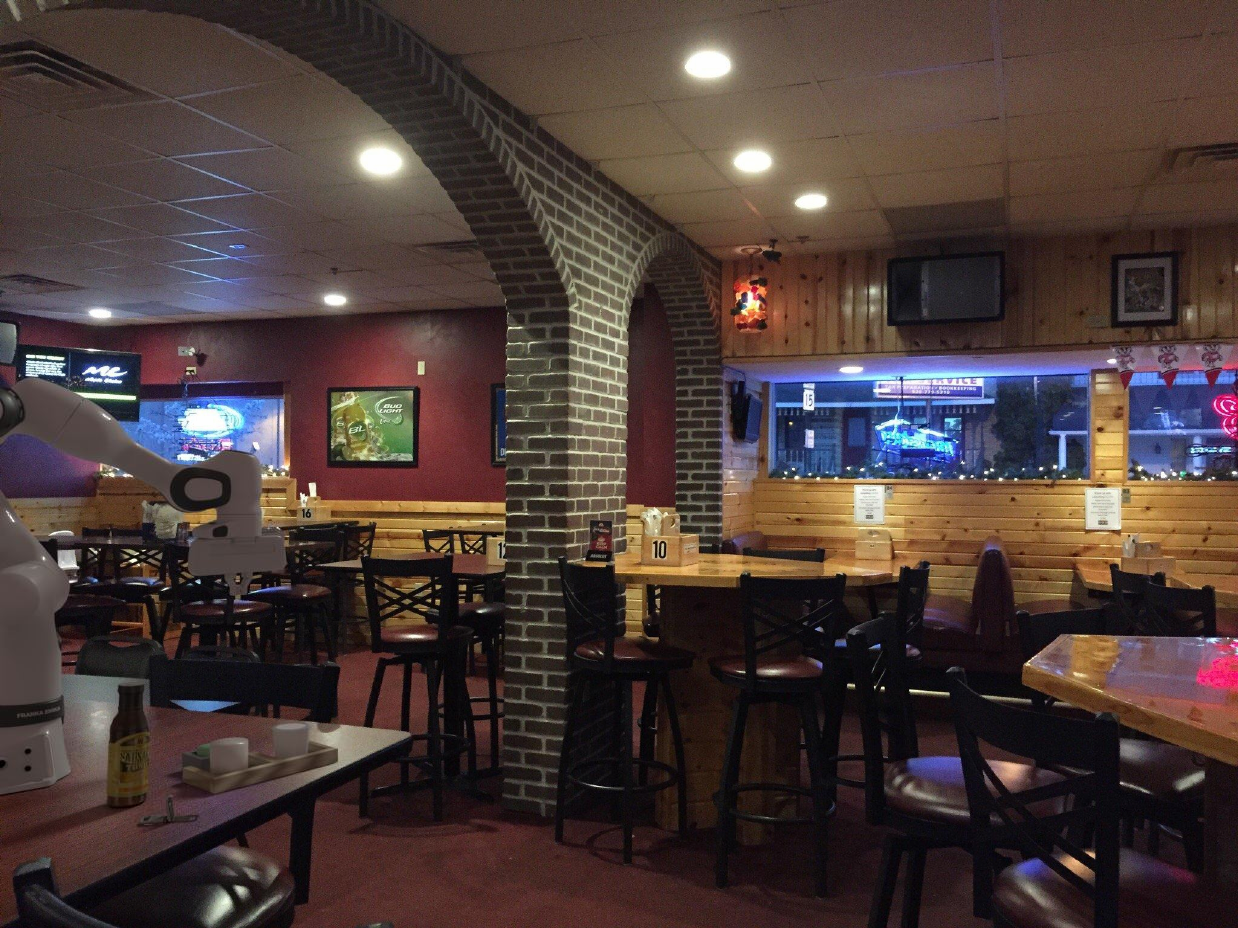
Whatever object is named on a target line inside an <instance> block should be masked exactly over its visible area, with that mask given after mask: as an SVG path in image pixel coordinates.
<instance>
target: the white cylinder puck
mask: <svg viewBox="0 0 1238 928" xmlns="http://www.w3.org/2000/svg"><path fill="white" fill-rule="evenodd" d="M209 743H210V773H212V774H215V775H218V776H219V775H223V774H227V773H231V772H235V771H239V770H243V769H247V768H248V752H249V739H248V738H245V737H236V736H235V737H226V738H225V737H224V738H220V739H215V740H212V741H211V742H209Z"/></svg>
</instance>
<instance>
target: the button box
mask: <svg viewBox="0 0 1238 928" xmlns="http://www.w3.org/2000/svg"><path fill="white" fill-rule="evenodd" d="M181 762H182V763H181V765H182V767H181V770H182V771H183V768H184V767H188V766H193V767H195V768H198V769H201V770H204V771H207V772H209V773H210V756H208V757H201V756H198V755H197V749H195V750H190V751H184V752H182V753H181Z"/></svg>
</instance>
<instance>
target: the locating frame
mask: <svg viewBox="0 0 1238 928" xmlns="http://www.w3.org/2000/svg"><path fill="white" fill-rule="evenodd" d="M338 762H339V748H338V747H333V746H331V745H327V744H323V743H320V742H316V741H312V740H309V742H308V752H307V754H304V755H300V756H296V757H292V758H288V759H284V760H281V759H278V758H275V756H271V755H268V754H265V753H262V752H258V751H256V750H254V751H248V768H247V769H243V770H239V771H235V772H231V773H227V774H223V775H219V776H218V775H215V774H212V773H209V772H207V771H204V770H201V769H198V768H195V767H193V766H188V767H184V768H183V770H182V783H185V784H187V785H190V786H193V787H195V788H198V789H201V790H203V791H206V792H209V793H212V794H215V795H216V794H219V793H223V792H227V791H231V790H235V789H239V788H242V787H246V786H251V785H255V784H258V783H261V782H262V783H263V782H266V781H269V780H274V779H277V778H280V777H284V776H288V775H293V774H296V773H297V774H298V773H300V772H304V771H307V770H311V769H316V768H318V767H319V768H320V767H322V766H323V767H324V766H326V765H330V764H334V763H338Z"/></svg>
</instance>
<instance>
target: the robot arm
mask: <svg viewBox="0 0 1238 928" xmlns="http://www.w3.org/2000/svg"><path fill="white" fill-rule="evenodd" d="M17 434H18V435H19V434H21V435H26V436H30V437H33V438H36V439H37V440H39V441H41V442H43V443H45V444H47V445H48V446H50V447H52V448H54V449H56V450H58V451H60V452H62V453H64V454H67V455H69V456H72V457H76V458H78V459H81V460H84V461H87V462H91V463H97V464H102V465H106V466H109V467H112V468H115V469H118V470H119V471H120V470H121V471H122V472H124V473H125V474H126V473H127V474H128V475H130V476H131V477H133V478H136V479H137V480H139V481H141V482H143V483H144V484H147V485H148V486H150V487H152V488H153V489H155V490H156V491H157V492H158V493H159V494H160V495H161V497H162V498H163V499H164V500H165V502H166V504H168V505H169V506H170V507H171V508H172V509H174V510H176V511H178V512H179V513H185V514H193V513H194V514H195V513H196V514H198V513H202V512H205V511H207V510H211V509H215V510H216V518H215V519H213V520H211V521H209V522H206V523H204V524H200V525H197V526H195V527H193V528H192V534H191V535H192V537H193V538H194V539H193V540H192V541H191V543H190V545H189V549H188V556H187V557H188V558H187V570H188V572H189V573H190V575H192V576H197V577H202V576H217V575H224V580H225V582H226V583H227V585H228V587H229V595H230V596H242V595H243V596H245V595H247V594H248V586H249V585H250V583H251V581H252V579H253V578H254V576H253V574H254V573H256V572H258V573H259V572H272V571H282V570H284V568H285V567H286V566H287V556H286V555H287V554H286V546H285V541H286V540H285V538H286V536H285V532H284V531H283V529H281V528H279V527H278V526H272V527H267V526H263V524H262V523H263V521H262V520H263V512H262V511H263V510H262V507H261V498H262V495H263V473H262V466H261V462H260V460H259V458H258V457H257V456H256V455H254V454H253V453H251V452H247V451H242V450H237V449H230V448H227V449H222V450H221V451H220V452H218V453H217V454H215V455H213V456H212V457H209V458H207V459H205V460H201V461H200V462H197V463H194V464H191V465H190V464H180V463H175V462H172V461H170V460H168V459H166V458H164V457H163V456H161V455H160V454H157V453H156V452H154V451H152V450H150V449H148V448H147V447H144V446H143V445H141V444H140V443H138V442H137V441H135V440H134V439H133V438H131V436H129V434H128V433H126V431H125V430H124V428H123V427H122V426H121V424H120V422H118V420H117V419H116V418H115V417H114V416H113V415H111V414H110V413H109V412H107V411H106V410H105V409H103V408H102V407H100V405H98V404H96V403H95V402H93V401H92V400H89V399H88V398H86V397H84V396H82V395H80V394H78V393H77V392H74V391H73V390H71V389H69V388H66V387H64V386H61V385H59V384H56V383H54V382H51V381H48V380H45V379H42V378H39V377H27V378H24V379H22V380H20V381H18V382H17V383H15V384H14V385H13V386H12V387H10V386H9V387H8V386H0V448H1V447H2V445H3V444H4V442H5V441H6V440H7V439H8V438H9V436H11V435H17ZM237 574H241V575H240V576H241V578H242V581H241V583H240V584H239V585H237V583H236V582H235V579H237ZM70 583H71V582H70V578H69V576H68V574H67V573H66V572H65V570H64V569H63V568H62V567H60V566H59V564H58V563H57V561H56V560H55V559H54V557H52V555H51V554H50V552H48V551H47V550H46V548H45V547H44V546H43V545H42V544H41V543H40V541H39V540H38V539H37V538H36V537H35V536H34V534H32V532H31V531H30V530H29V529H28V528H27V526H26V525H25V524H24V523H23V522H22V519H21V518H20V517H19V516H18V515H17V513H16V511H15V510H14V508H13V507H12V505H11V504H10V502H9V500H8V498H7V497H6V496H5V494H4V492H3V491H2V490H1V489H0V795H5V794H11V793H17V792H22V791H23V792H24V791H30V790H34V789H39V788H46V787H49V786H53V785H54V784H55V783H56V782H57V781H58V780H60V779H61V778H65V776H68V774H70V773H71V771H72V768H71V765H70V762H69V759H68V755H67V751H66V746H65V745H66V744H65V740H64V739H65V738H64V731H63V726H64V723H65V715H66V711H65V710H66V709H65V708H66V707H65V706H66V705H65V697H64V695H63V694H62V651H61V648H60V645H59V642H58V641H59V640H58V636H57V635H58V634H57V629H56V623H55V613H57V611H58V610H60V609H62V607H63V606H64V604H65V603H66V602H67V600H68V597H69V594H70V589H71V584H70Z"/></svg>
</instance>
